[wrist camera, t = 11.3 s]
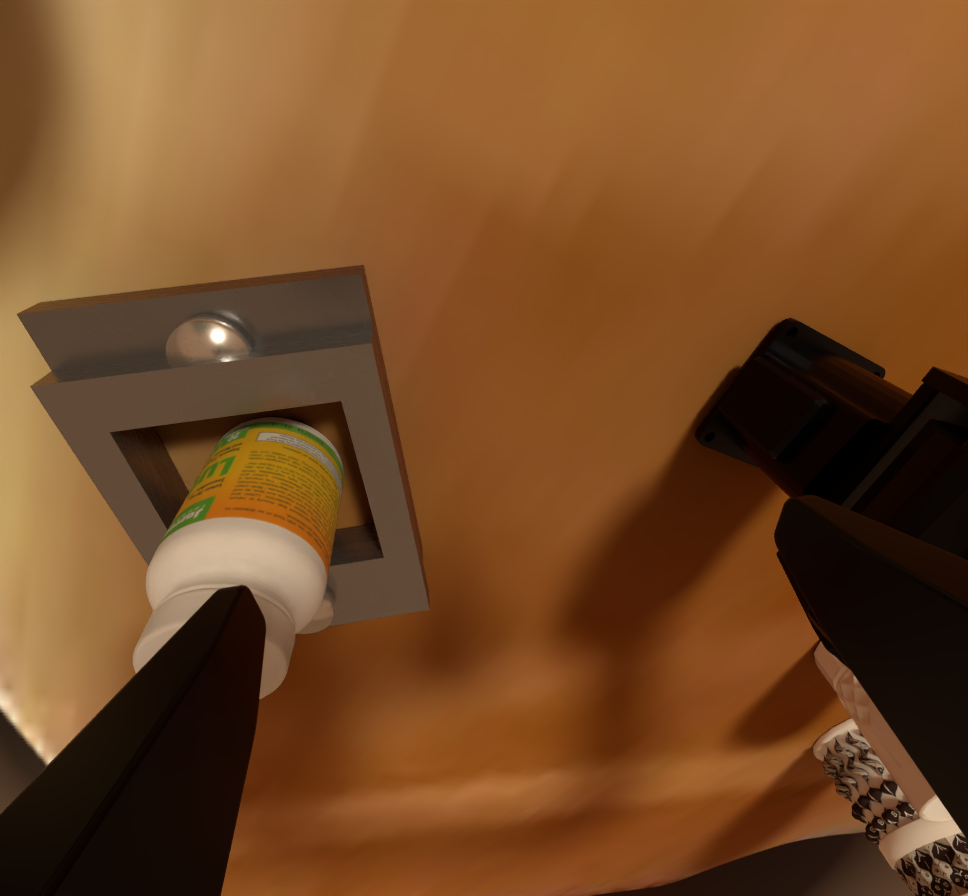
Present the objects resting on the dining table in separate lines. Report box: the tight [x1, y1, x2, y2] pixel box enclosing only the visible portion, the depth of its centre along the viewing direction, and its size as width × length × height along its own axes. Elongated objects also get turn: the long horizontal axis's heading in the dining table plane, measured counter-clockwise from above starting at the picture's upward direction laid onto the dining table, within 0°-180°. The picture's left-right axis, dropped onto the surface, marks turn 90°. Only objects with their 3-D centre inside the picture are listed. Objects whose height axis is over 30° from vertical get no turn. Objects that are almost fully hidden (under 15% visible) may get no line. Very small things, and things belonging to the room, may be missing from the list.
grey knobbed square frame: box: [17, 265, 430, 634], centre depth 20 cm, size 16×11×3 cm
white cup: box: [814, 641, 954, 822], centre depth 32 cm, size 8×8×10 cm
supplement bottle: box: [133, 417, 344, 699], centre depth 18 cm, size 5×5×10 cm
